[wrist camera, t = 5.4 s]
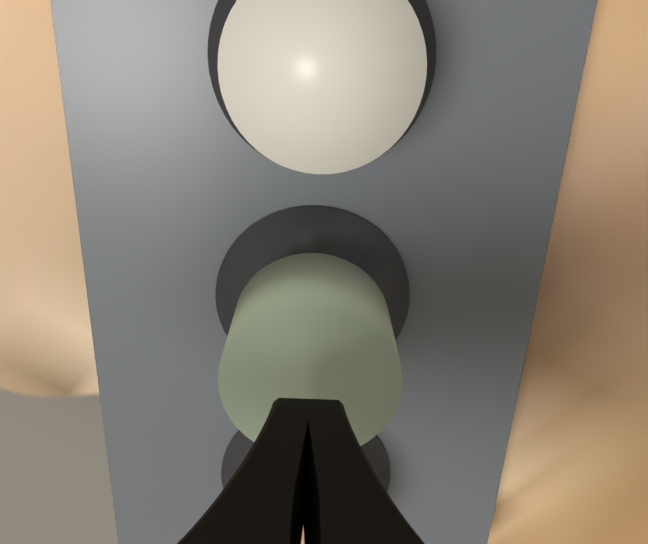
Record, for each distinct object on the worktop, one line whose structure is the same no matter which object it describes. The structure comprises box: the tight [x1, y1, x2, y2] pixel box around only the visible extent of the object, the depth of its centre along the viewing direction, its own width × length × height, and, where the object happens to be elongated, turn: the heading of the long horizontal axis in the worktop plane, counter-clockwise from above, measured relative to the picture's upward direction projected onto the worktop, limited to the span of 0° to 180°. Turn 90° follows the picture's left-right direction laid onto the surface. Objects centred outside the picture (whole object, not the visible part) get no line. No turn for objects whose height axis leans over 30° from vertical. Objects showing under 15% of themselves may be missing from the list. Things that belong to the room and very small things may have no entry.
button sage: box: [218, 253, 403, 446], centre depth 16 cm, size 4×4×3 cm
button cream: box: [217, 0, 427, 174], centre depth 14 cm, size 4×4×3 cm
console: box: [50, 0, 597, 544], centre depth 19 cm, size 14×22×2 cm, turn 178°
